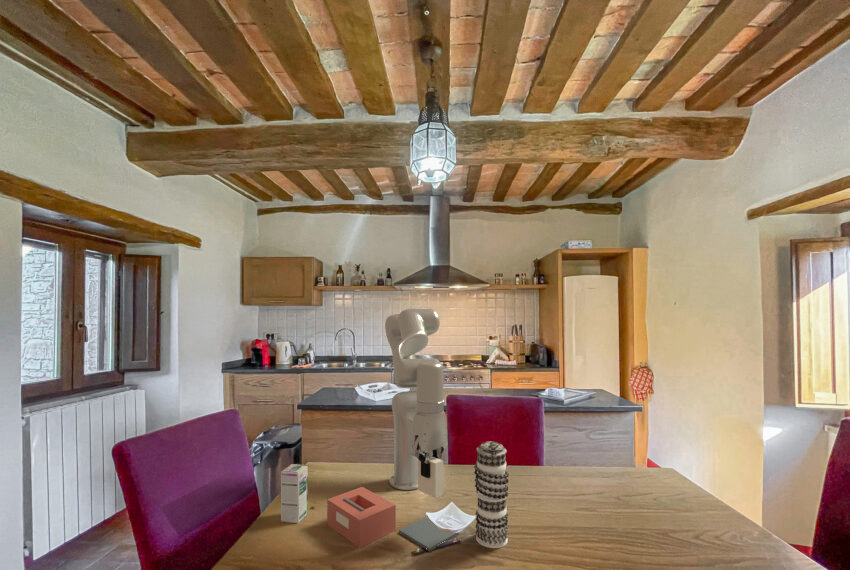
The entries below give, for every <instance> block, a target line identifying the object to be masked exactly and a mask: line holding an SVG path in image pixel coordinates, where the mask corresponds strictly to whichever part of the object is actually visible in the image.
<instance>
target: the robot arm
mask: <svg viewBox="0 0 850 570" xmlns="http://www.w3.org/2000/svg"><path fill="white" fill-rule="evenodd" d="M440 322H441V321H440V316H439V314H438V312H437V311H436V310H435V309H433V308H407V309H404V310H402V311H401V312H400V313H394V314H391V315H388V316H387V317H386V319H385V323H384V325H385V326H384V328H385V329H384V330H385V335H386V339H387V341H388V344H389V347H390V350H391V353H392V367H393V378H394V384H395V386H396V387H397V388H400V389H416V390H409V391H408V390H407V391H400V392H397V393H396V394H395V395H393V396H392V399H391V410H392V417H393V475H392V476H391V477H389V484H390V486H391V487H393V488H395V489H397V490H400V491H401V490H402V491H410V490H412V491H413V490H418V459H419V461H421V476H423V477H426V478H430V463H429V456H430V452H431V456H432V457H435V458H438V459H440V460H442V455H443V453H444V450H445V449H446V448H447V447H448V446H449V445H448V444H449V443H448V429H447V428H448V427H447V426H448V425H447V419H446V412H445V411H444V409H445V408H444V405H445V401H444V396H445V395H444V366H443V364H442V363H441V361H440V360H439V359H437V358H434V357H433V358H431V357H428V358H420V357H419V358H417V357H416V354H417V353H420V352H421V351H423V350H424V349H425V348H426V347H427V346H428V343H429V337H428V336H431V335H433V334H435V333H437V332H438V330H439V328H440ZM424 454H425V456H424Z"/></svg>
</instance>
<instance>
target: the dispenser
mask: <svg viewBox="0 0 850 570" xmlns="http://www.w3.org/2000/svg"><path fill="white" fill-rule="evenodd" d="M326 506H327V507H326V508H327V511H326V516H327V517H326V524H327V526H328V527H330V528H331V529H333V530H334V531H335V532H337V533H338V534H340V535H341V536H342V537H344V538H346V539H347V540H348V541H349V542H350V543H352V544H353V545H354V546H356V547H358V548H359V549H361V548H363V547H365V546H367V545H370V544H371V543H373V542H376V541H377V540H379V539H381V538H383V537H385V536H387V535H390V534H391V533H393V532H395V531H396V529H397V528H396V524H397V523H396V522H397V521H396V517H397V516H396V515H397V512H396V511H397V510H396V509H397V507H396V506H397V505H396V504H395V503H392V502H391V501H389V500H387V499H386V498H383V497H382V496H380V495H379V494H376V493H374V492H373V491H371V490H369V489H367V488H365V487H363V486H360V487H358V488H355V489H352V490H349V491H346V492H344V493H340V494H338V495H335V496H333V497H329V498H328V499H327V505H326Z"/></svg>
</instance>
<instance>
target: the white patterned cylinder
mask: <svg viewBox="0 0 850 570" xmlns="http://www.w3.org/2000/svg"><path fill="white" fill-rule="evenodd" d="M476 451H477V453H476V454H477V458H476V462H475V463H474V466H473V467H474V468H473V469H474V472H473V473H474V474H475V479H474V482H475V484H474V486H475V490H476V491H475V495H476V497H477V503H476V510H475V515H476V516H475V521H476V523H475V528H476V529H475V535H476V536H475V537H476V538H475V539H476V541H477V543H478V544H479V545H481V546H483V547H485V548H489V549H500V548H503V547H505V546H506V545H507V544H508V541H509V540H508V539H509V536H508V535H509V532H508V531H509V526H508V522H509V521H508V520H509V519H508V516H509V514H508V512H507V510H508V509H507V508H508V507H507V505H506V504H507V498H508V497H509V492H507V491H508V490H509V486H508V485H506V484H508V483H509V472H508V471H506V470H507V467H508V464H507V461H506V459H507V457H506V454H507V452H508V450H507V449H506V448H505V447H504V446H503V444H502V443H499V442H497V441H491V440H490V441H484V442H482V443H481V444H480V445H479V446H478V447H476Z"/></svg>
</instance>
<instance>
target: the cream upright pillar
mask: <svg viewBox="0 0 850 570" xmlns="http://www.w3.org/2000/svg"><path fill="white" fill-rule="evenodd" d="M423 455H424V456H425V453H423ZM429 463H430V478H426V477H423V476H421V461H419V459H418V488H417V491H419V492H421V493H424V494H425V495H426V494H427V495H429V497H430V496H431V497H433V498H439V497H440V496H443V495H444V460H443V459H438V458H435V457H432V455H429Z"/></svg>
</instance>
